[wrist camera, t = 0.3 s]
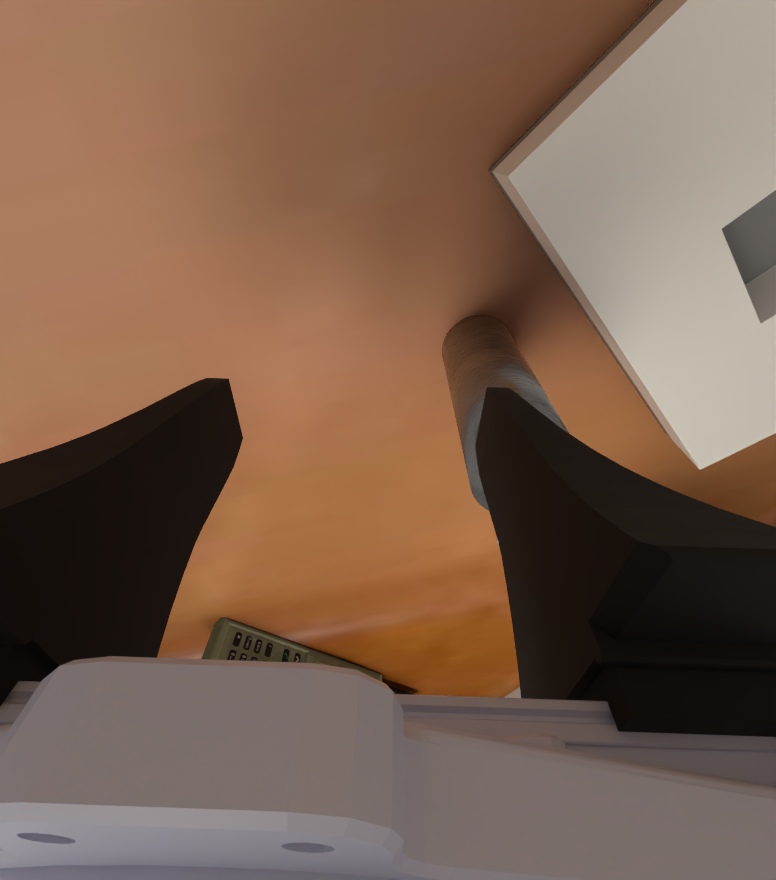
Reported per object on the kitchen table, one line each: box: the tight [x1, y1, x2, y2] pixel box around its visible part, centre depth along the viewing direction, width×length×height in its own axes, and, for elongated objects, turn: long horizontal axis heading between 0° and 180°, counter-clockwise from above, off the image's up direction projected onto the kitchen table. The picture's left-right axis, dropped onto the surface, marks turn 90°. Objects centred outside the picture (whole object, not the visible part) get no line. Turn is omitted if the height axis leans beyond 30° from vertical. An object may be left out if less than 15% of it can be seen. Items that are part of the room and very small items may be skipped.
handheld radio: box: [202, 617, 415, 695], centre depth 40 cm, size 7×3×25 cm
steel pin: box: [442, 316, 569, 510], centre depth 17 cm, size 4×4×10 cm
